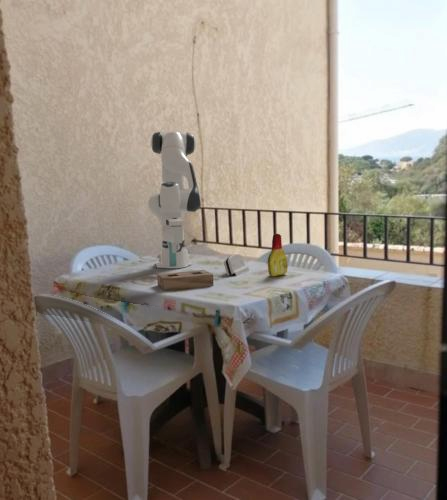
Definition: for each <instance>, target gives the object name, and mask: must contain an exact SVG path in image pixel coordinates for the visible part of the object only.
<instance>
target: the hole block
mask: <svg viewBox="0 0 447 500" xmlns="http://www.w3.org/2000/svg"><path fill="white" fill-rule="evenodd" d="M156 275H157V286H158V287H159V288H160V289H162V290H163V291H164V292H165V291H174V290H176V291H177V290H183V289H192V288H193V289H194V288H195V289H196V288H201V287H202V288H203V287H212V286H213V287H214V274H213V273H211V272H209V271H207V270H206V269H201V270H200V269H199V270H190V271H189V270H188V271H179V272H167V273H157V274H156Z"/></svg>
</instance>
